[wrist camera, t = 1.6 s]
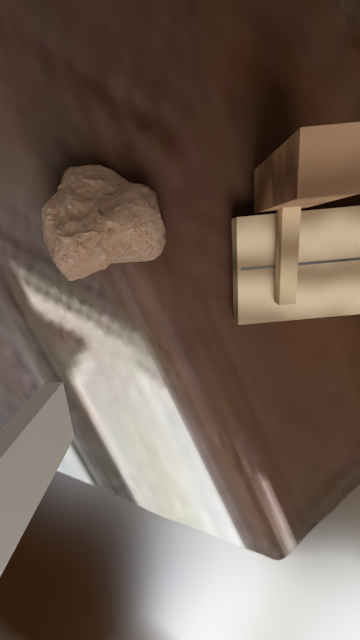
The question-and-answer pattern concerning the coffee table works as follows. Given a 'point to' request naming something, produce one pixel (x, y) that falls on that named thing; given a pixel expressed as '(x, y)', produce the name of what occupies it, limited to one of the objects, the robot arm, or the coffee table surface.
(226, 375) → the coffee table surface
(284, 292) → the block
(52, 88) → the coffee table surface
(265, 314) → the board
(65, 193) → the stone
